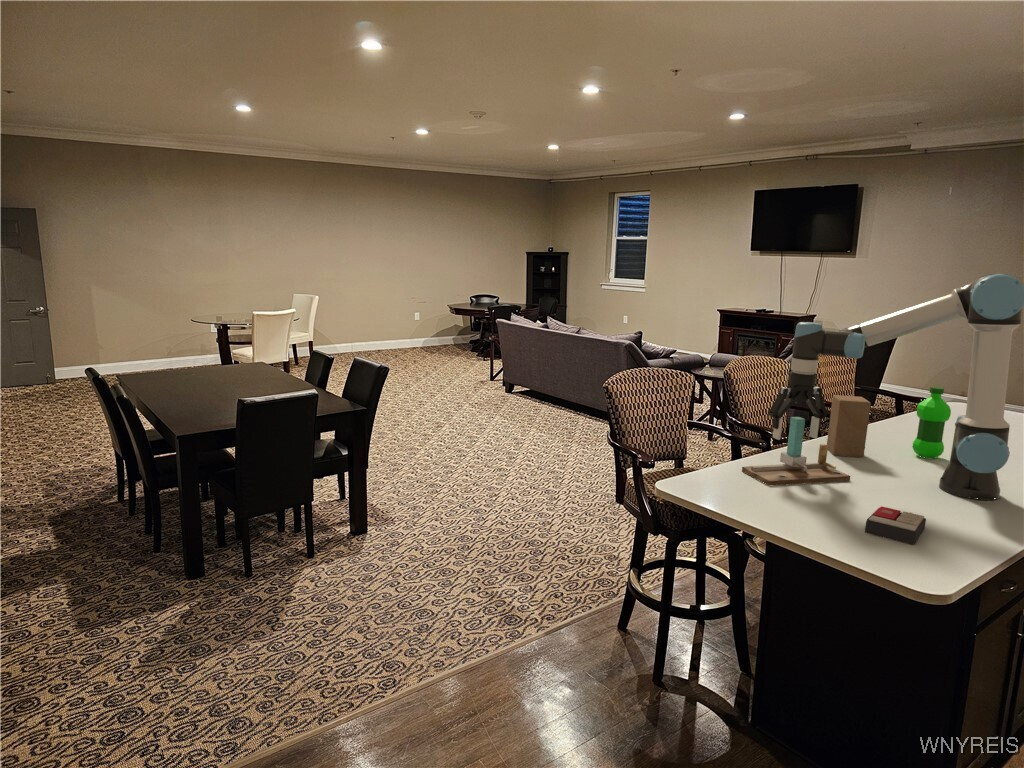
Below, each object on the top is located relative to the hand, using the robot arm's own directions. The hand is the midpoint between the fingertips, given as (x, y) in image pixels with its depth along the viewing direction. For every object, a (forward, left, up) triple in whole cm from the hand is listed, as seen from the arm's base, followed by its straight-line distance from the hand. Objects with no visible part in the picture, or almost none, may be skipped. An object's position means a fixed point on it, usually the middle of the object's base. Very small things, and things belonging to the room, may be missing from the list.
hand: (794, 438), depth 211 cm
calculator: (-46, +4, -12) cm, 47 cm away
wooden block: (+17, -35, -12) cm, 41 cm away
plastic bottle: (+8, -62, -12) cm, 64 cm away
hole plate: (-3, +1, -11) cm, 12 cm away
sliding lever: (-2, 0, -10) cm, 10 cm away
